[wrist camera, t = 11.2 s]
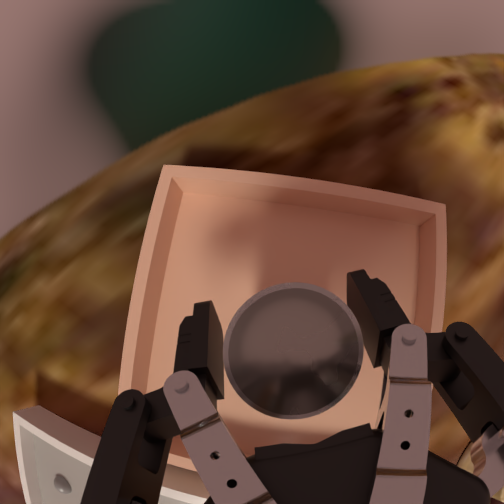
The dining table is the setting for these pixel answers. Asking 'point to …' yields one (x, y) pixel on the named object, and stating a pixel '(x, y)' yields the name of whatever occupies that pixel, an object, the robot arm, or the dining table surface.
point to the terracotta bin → (274, 276)
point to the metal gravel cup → (293, 350)
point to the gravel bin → (77, 462)
